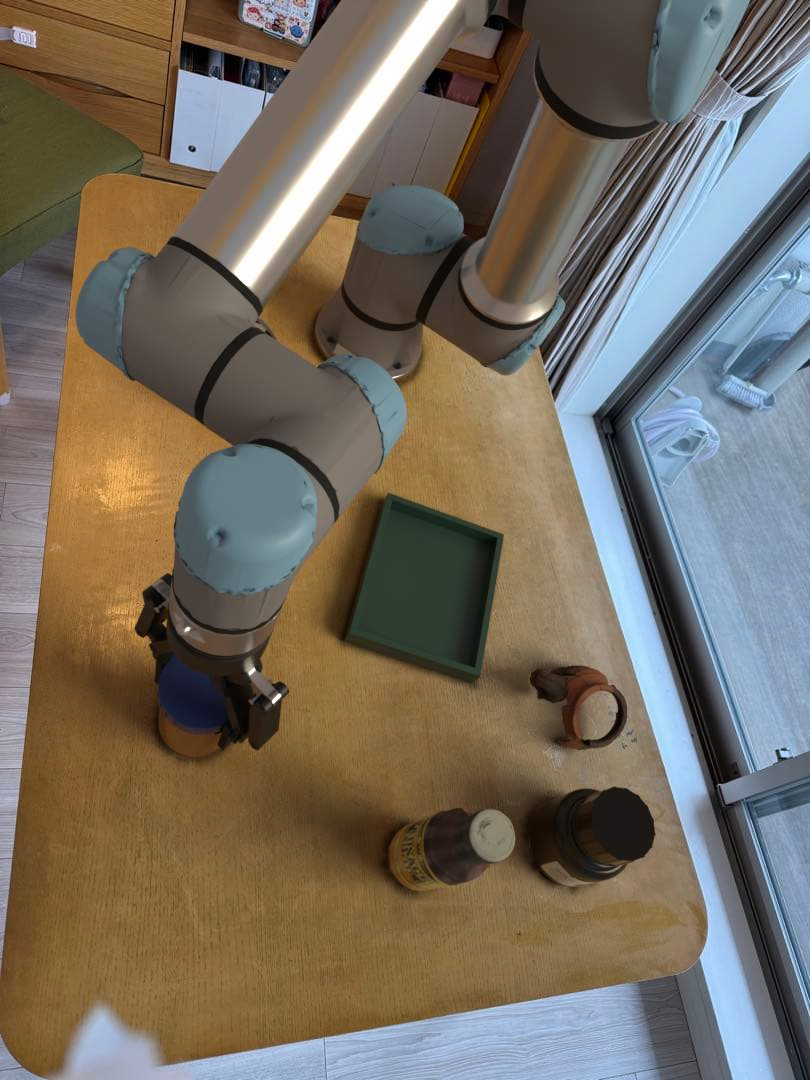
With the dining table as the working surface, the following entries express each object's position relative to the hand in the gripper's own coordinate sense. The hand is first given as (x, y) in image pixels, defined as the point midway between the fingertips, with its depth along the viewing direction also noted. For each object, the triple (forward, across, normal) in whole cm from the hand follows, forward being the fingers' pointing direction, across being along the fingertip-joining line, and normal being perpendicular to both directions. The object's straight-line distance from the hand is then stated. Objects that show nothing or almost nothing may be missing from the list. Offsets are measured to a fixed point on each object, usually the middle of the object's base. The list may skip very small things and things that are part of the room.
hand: (199, 705), depth 73 cm
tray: (+5, +7, +30) cm, 31 cm away
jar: (+5, 0, 0) cm, 5 cm away
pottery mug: (+5, +28, +31) cm, 42 cm away
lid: (-6, 0, 0) cm, 6 cm away
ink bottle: (+5, +37, +18) cm, 41 cm away
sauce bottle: (+5, +25, +6) cm, 27 cm away
